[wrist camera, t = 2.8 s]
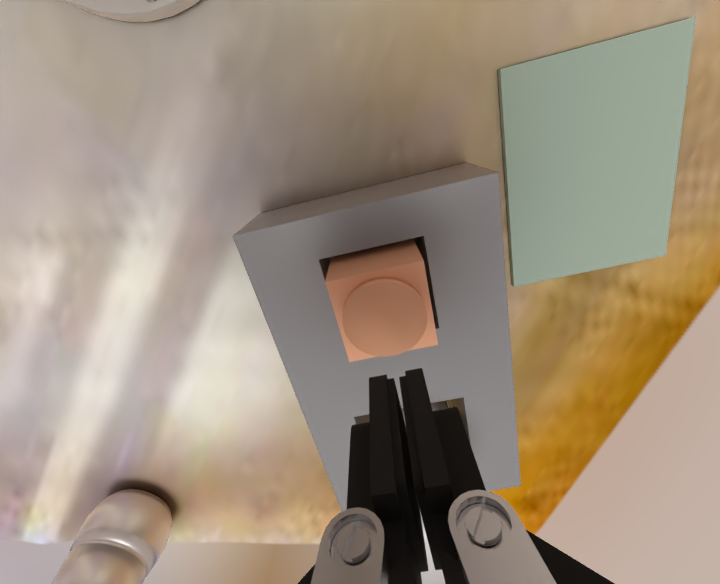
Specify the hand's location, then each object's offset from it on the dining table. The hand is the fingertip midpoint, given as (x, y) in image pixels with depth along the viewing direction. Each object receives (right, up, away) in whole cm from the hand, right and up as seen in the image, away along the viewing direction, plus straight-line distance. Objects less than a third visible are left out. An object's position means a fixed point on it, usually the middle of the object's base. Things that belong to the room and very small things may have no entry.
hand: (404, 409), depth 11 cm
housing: (+1, +1, +13) cm, 13 cm away
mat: (+11, +10, +9) cm, 18 cm away
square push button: (0, +5, +9) cm, 10 cm away
